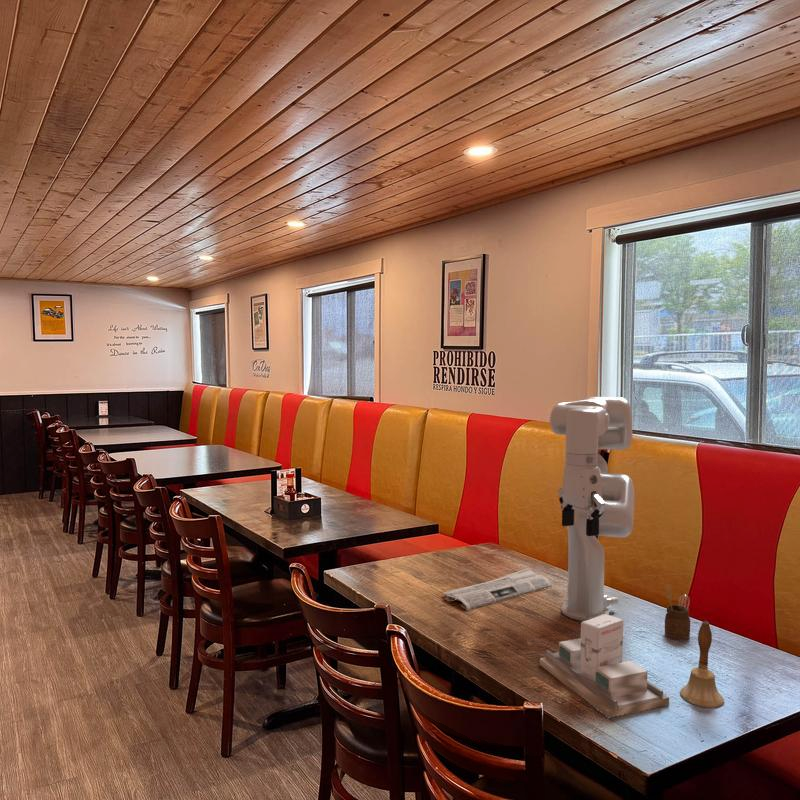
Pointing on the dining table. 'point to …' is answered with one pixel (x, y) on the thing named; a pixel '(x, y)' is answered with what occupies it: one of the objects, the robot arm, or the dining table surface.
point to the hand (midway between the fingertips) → (579, 530)
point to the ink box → (600, 643)
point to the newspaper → (498, 589)
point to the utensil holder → (677, 619)
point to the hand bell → (702, 676)
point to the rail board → (605, 682)
